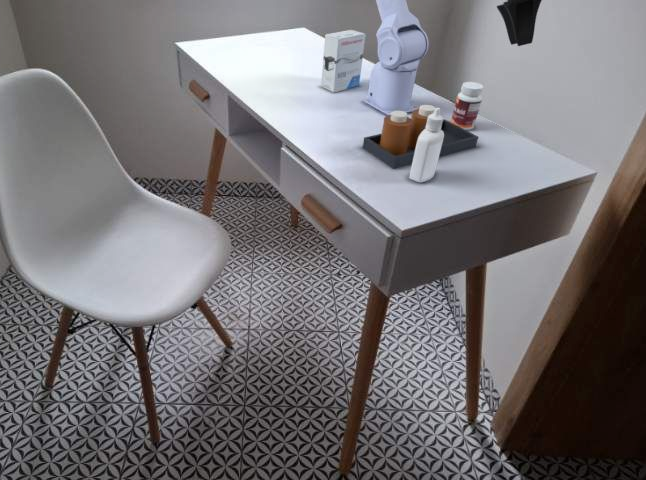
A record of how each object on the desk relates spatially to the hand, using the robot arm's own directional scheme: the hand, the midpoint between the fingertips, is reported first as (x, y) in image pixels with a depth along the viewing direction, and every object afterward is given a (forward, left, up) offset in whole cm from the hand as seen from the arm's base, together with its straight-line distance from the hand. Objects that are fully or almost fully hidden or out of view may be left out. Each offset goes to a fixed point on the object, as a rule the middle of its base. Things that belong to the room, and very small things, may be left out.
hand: (521, 43), depth 88 cm
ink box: (-39, -9, -19) cm, 44 cm away
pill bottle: (-9, +1, -19) cm, 21 cm away
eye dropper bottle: (+4, -21, -19) cm, 28 cm away
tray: (-5, -14, -18) cm, 23 cm away
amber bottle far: (-5, -20, -18) cm, 27 cm away
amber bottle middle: (-5, -14, -18) cm, 23 cm away
